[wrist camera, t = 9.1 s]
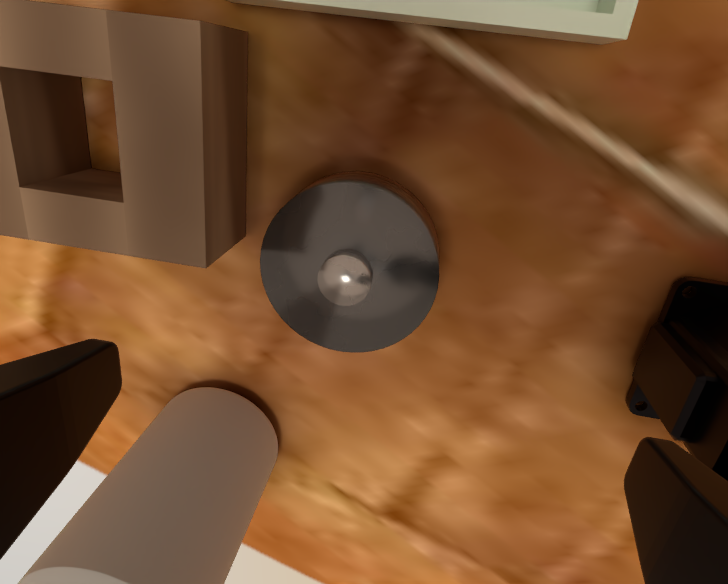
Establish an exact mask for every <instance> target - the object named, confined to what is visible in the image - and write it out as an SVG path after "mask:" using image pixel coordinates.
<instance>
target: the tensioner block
mask: <svg viewBox="0 0 728 584" xmlns="http://www.w3.org/2000/svg"><path fill="white" fill-rule="evenodd" d="M247 64H248V32H245V31H241V30H237V29H233V28H228V27H224V26H220V25H216V24H211V23H207V22H203V21H198V20H189V19H181V18H172V17H164V16H155V15H147V14H138V13H130V12H121V11H113V10H104V9H96V8H87V7H79V6H70V5H62V4H53V3H45V2H36V1H28V0H0V235H4V236H10V237H16V238H22V239H28V240H34V241H41V242H47V243H53V244H59V245H65V246H71V247H78V248H84V249H90V250H96V251H102V252H108V253H115V254H121V255H127V256H133V257H139V258H145V259H152V260H158V261H164V262H170V263H176V264H182V265H189V266H195V267H201V268H207V267H208V266H209V265H211V264H212V263H213V262H214V261H216V260H217V259H218V258H219V257H221V256H222V255H223V254H224V253H225V252H227V251H228V250H229V249H230V248H232V247H233V246H234V245H235V244H237V243H238V242H239V241H240V240H241V239H243V238H244V237H245V233H246V149H247ZM80 77H86V78H94V79H102V80H109V81H112V82H113V93H114V104H115V114H116V125H117V136H118V147H119V157H120V168H121V173H118V172H111V171H105V170H98V169H91V164H90V155H89V147H88V138H87V130H86V121H85V113H84V104H83V96H82V87H81V79H80Z"/></svg>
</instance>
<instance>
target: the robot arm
mask: <svg viewBox="0 0 728 584" xmlns="http://www.w3.org/2000/svg"><path fill="white" fill-rule="evenodd" d="M689 286H692V290H691V291H690V292H689V293H687V294H683V290H684V289H685V288H687V287H689ZM632 376H633V378H634V381H633V384H632V386H631V388H630V391H629V393H628V396H627V398H626V404H627V406H628V408H629V410H630V411H631V412H632V413H633V414H635V415H639V416H645V417H651V418H656V419H660V420H661V421H662V423H663V424H664V426H665V427H666V429H667V430H668V432H669V434H670V435H671V436H672V438H673V439H674V440H676V441H682V442H683V443H684V445H685V446H686V448H687V449H688V451H689V452H690V454H689V453H688V452H686V451H685V450H684V449H682V448H681V447H680V446H678V445H677V444H675V443H674V442H671V441H668V440H662V439H657V438H651V437H646V438H644V439H642V440H641V441H640V443H639V444H638V447H637V449H636V451H635V453H634V456H633V458H632V460H631V463H630V465H629V467H628V469H627V472H626V474H625V479H624V490H625V495H626V500H627V504H628V509H629V514H630V518H631V523H632V528H633V532H634V537H635V542H636V546H637V551H638V556H639V560H640V565H641V569H642V573H643V577H644V581H645V584H728V283H727V282H721V281H714V280H708V279H701V278H694V277H683V278H680V279H678V280H677V281H676V282H675V283H674V284H673V286H672V288H671V290H670V293H669V295H668V297H667V300H666V302H665V305H664V307H663V310H662V312H661V315H660V317H659V320H658V322H657V323H656V324H654V325H653V326H652V327H651V329H650V331H649V334H648V336H647V339H646V341H645V344H644V346H643V349H642V351H641V354H640V356H639V359H638V361H637V364H636V366H635V369H634V371H633V374H632ZM121 386H122V377H121V368H120V359H119V351H118V347H117V345H116V344H114V343H113V342H109V341H104V340H98V339H88V340H85V341H81V342H78V343H74V344H71V345H68V346H64V347H61V348H57V349H54V350H50V351H47V352H43V353H40V354H36V355H33V356H29V357H26V358H22V359H19V360H16V361H12V362H9V363H5V364H2V365H0V559H1V558H2V557H3V556H4V554H5V553H6V552H7V550H8V549H9V548H10V547H11V545H12V544H13V543H14V542H15V540H16V539H17V538H18V536H19V535H20V534H21V533H22V531H23V530H24V529H25V527H26V526H27V525H28V524H29V522H30V521H31V520H32V518H33V517H34V516H35V515H36V513H37V512H38V511H39V510H40V508H41V507H42V506H43V505H44V503H45V502H46V501H47V499H48V498H49V497H50V495H51V494H52V493H53V492H54V490H55V489H56V488H57V486H58V485H59V484H60V483H61V481H62V480H63V479H64V477H65V476H66V475H67V474H68V472H69V471H70V469H71V468H72V467H73V465H74V464H75V462H76V461H77V459H78V458H79V456H80V455H81V453H82V452H83V450H84V449H85V447H86V445H87V444H88V442H89V441H90V439H91V438H92V436H93V434H94V433H95V431H96V430H97V428H98V427H99V425H100V423H101V422H102V420H103V419H104V417H105V416H106V414H107V412H108V411H109V409H110V408H111V406H112V405H113V403H114V401H115V400H116V398H117V397H118V395H119V393H120V390H121ZM640 401H644V402H643V403H642V404H641V405H636V403H637V402H640Z"/></svg>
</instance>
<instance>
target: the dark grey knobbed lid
mask: <svg viewBox="0 0 728 584" xmlns="http://www.w3.org/2000/svg"><path fill="white" fill-rule="evenodd" d="M260 268H261V276H262V281H263V285H264V288H265V291H266V293H267V296H268V298H269V300H270V302H271V304H272V305H273V307H274V309H275V310H276V312H277V313H278V314H279V316H280V317H281V318H282V319H283V320H284V321H285V322H286V323H287V324H288V325H289V326H290V327H291V328H292V329H293V330H294V331H296V332H297V333H298V334H299V335H301V336H303V337H304V338H306V339H307V340H309V341H311V342H313V343H315V344H317V345H320V346H323V347H326V348H328V349H332V350H337V351H343V352H368V351H374V350H378V349H382V348H385V347H388V346H390V345H393V344H395V343H397V342H398V341H400V340H402V339H404V338H405V337H406V336H408V335H409V334H411V333H412V332H413V331H414V330H415V329H416V328H417V327H418V326H419V325H420V324H421V322H422V321H423V320H424V319H425V317H426V316H427V314H428V312H429V311H430V309H431V307H432V304H433V302H434V300H435V296H436V292H437V289H438V281H439V243H438V237H437V233H436V230H435V227H434V224H433V222H432V220H431V218H430V215H429V214H428V212H427V211H426V209H425V208H424V206H423V205H422V204H421V202H420V201H419V200H418V199H417V198H416V197H415V196H414V195H413V194H412V193H411V192H410V191H409V190H407V189H406V188H404V187H403V186H401V185H400V184H399V183H397V182H395V181H393V180H391V179H389V178H386V177H383V176H381V175H378V174H373V173H368V172H359V171H351V172H341V173H336V174H332V175H329V176H326V177H323V178H321V179H319V180H317V181H315V182H313V183H312V184H311V185H309V186H308V187H306V188H305V189H304V190H302V191H301V192H300V193H299V194H298V195H296V196H295V197H294V198H293V199H291V200H290V201H289V202H288V203H287V204H286V205H285V206H284V207H283V208H282V209H280V211H279V212H278V213H277V214H276V216H275V217H274V218H273V220H272V222H271V223H270V225H269V227H268V229H267V231H266V234H265V236H264V239H263V244H262V248H261V256H260Z"/></svg>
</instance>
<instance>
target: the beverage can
mask: <svg viewBox="0 0 728 584" xmlns="http://www.w3.org/2000/svg"><path fill="white" fill-rule="evenodd" d="M277 455H278V441H277V436H276V433H275V430H274V428H273V426H272V424H271V422H270V421H269V419H268V418H267V417H266V415H265V414H264V413H263V412H262V411H261V410H260V409H259V408H258V407H257V406H256V405H254V404H253V403H252V402H250V401H249V400H247V399H246V398H244V397H242V396H240V395H238V394H236V393H233V392H231V391H228V390H224V389H220V388H212V387H201V388H194V389H190V390H187V391H184V392H182V393H180V394H178V395H177V396H175V397H174V398H173V399H172V400H170V401H169V402H168V404H167V405H166V406H165V407H164V408H163V410H162V411H161V412H160V413H159V414H158V416H157V417H156V418H155V419H154V420H153V422H152V423H151V424H150V425H149V426H148V428H147V429H146V430H145V431H144V432H143V434H142V435H141V436H140V437H139V438H138V440H137V441H136V442H135V443H134V444H133V446H132V447H131V448H130V449H129V450H128V452H127V453H126V454H125V455H124V456H123V458H122V459H121V460H120V461H119V462H118V464H117V465H116V466H115V467H114V468H113V470H112V471H111V472H110V473H109V474H108V476H107V477H106V478H105V479H104V481H103V482H102V483H101V484H100V485H99V486H98V488H97V489H96V490H95V491H94V492H93V494H92V495H91V496H90V497H89V498H88V500H87V501H86V502H85V503H84V504H83V506H82V507H81V508H80V509H79V510H78V512H77V513H76V514H75V515H74V516H73V518H72V519H71V520H70V521H69V522H68V524H67V525H66V526H65V527H64V529H63V530H62V531H61V532H60V533H59V534H58V536H57V537H56V538H55V539H54V540H53V542H52V543H51V544H50V545H49V546H48V548H47V549H46V550H45V551H44V553H43V554H42V555H41V556H40V557H39V558H38V560H37V561H36V562H35V563H34V564H33V566H32V567H31V568H30V569H29V570H28V572H27V573H26V574H25V575H24V576H23V578H22V579H21V580H20V581H19V583H18V584H224V582H225V580H226V578H227V575H228V573H229V571H230V568H231V566H232V564H233V561H234V559H235V557H236V554H237V552H238V549H239V547H240V545H241V542H242V540H243V538H244V535H245V533H246V531H247V528H248V526H249V524H250V521H251V519H252V517H253V514H254V512H255V509H256V507H257V505H258V502H259V500H260V498H261V495H262V493H263V491H264V488H265V486H266V484H267V481H268V479H269V477H270V474H271V472H272V469H273V467H274V465H275V462H276V459H277Z"/></svg>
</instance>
